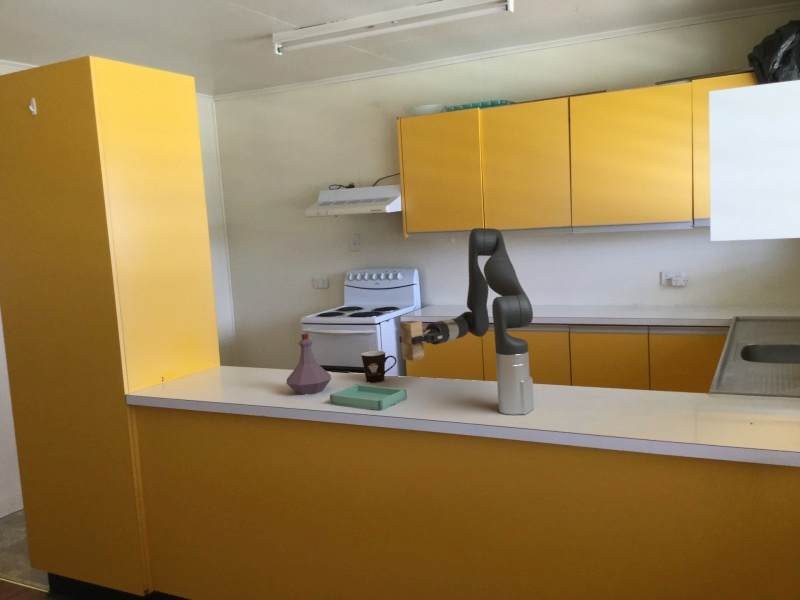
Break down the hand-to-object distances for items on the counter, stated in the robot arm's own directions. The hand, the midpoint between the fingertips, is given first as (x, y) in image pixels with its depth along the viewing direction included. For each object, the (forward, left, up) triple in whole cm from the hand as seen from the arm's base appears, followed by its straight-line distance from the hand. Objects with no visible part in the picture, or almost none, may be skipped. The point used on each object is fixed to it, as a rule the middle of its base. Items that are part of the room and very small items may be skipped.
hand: (406, 340), depth 218 cm
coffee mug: (+21, -11, -18) cm, 30 cm away
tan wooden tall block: (-1, -3, -6) cm, 7 cm away
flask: (+36, +9, -18) cm, 41 cm away
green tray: (+8, +12, -18) cm, 23 cm away
